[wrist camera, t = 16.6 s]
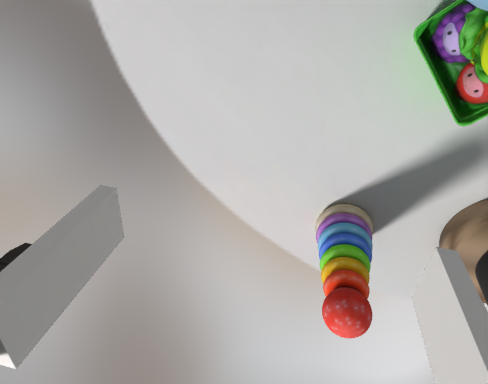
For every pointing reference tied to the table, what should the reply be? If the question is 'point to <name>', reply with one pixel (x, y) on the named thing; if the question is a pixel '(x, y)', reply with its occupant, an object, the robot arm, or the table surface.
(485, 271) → the pen holder
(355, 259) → the stacking toy
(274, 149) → the table surface
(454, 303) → the robot arm
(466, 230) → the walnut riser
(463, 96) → the fruit basket
